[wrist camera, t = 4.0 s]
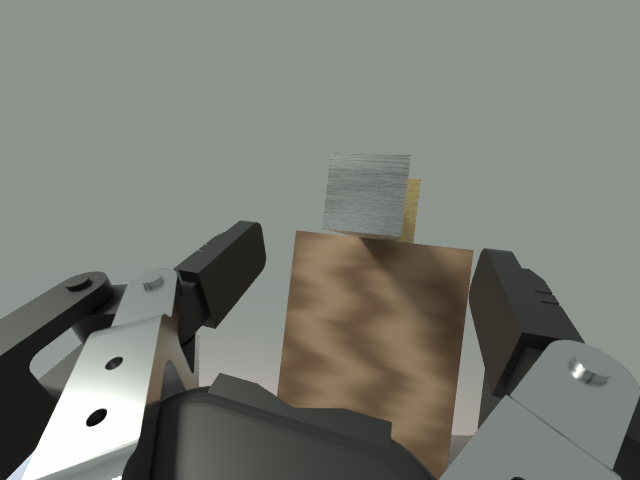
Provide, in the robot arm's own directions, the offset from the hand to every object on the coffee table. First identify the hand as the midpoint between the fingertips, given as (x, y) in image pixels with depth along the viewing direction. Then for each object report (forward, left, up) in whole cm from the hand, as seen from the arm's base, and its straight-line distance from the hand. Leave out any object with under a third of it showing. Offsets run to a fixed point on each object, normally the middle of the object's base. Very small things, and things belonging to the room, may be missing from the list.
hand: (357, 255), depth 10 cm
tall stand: (0, +19, -31) cm, 36 cm away
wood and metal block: (0, +12, +1) cm, 12 cm away
